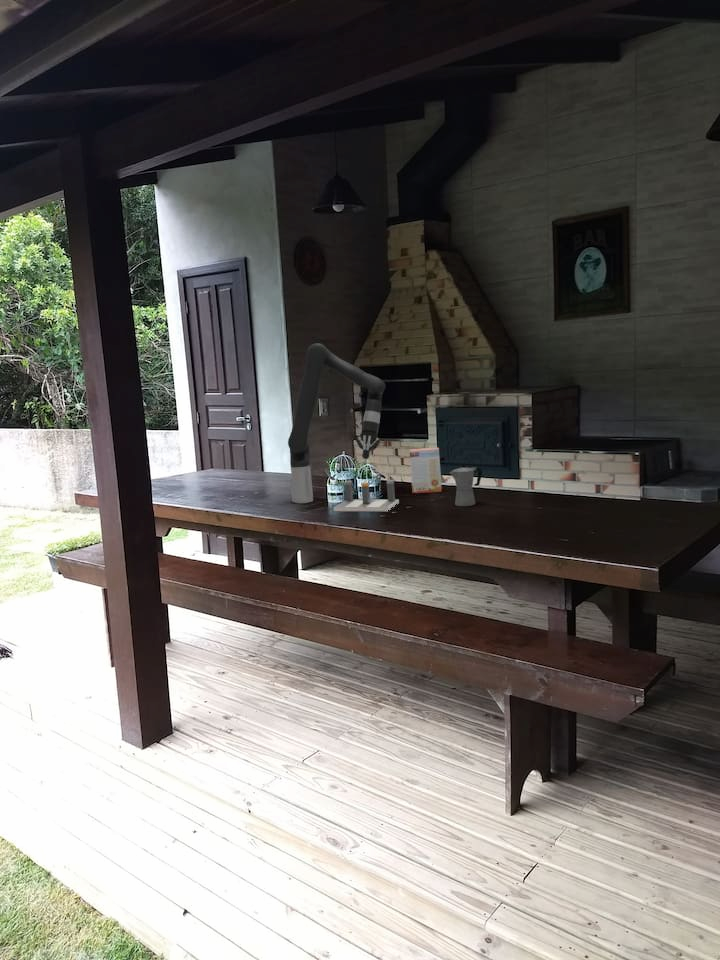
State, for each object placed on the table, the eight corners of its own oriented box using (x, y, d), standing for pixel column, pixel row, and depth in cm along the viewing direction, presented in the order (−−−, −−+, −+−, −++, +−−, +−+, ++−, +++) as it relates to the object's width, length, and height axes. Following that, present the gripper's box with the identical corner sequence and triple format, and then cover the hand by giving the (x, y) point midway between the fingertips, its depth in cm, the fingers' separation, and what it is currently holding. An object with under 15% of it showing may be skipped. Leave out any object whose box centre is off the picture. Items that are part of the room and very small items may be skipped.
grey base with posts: (333, 511, 329) (331, 487, 327) (347, 503, 345) (345, 480, 343) (387, 511, 321) (386, 486, 319) (399, 503, 336) (397, 479, 335)
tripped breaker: (362, 503, 331) (361, 483, 330) (364, 502, 334) (363, 482, 333) (368, 503, 330) (366, 483, 329) (370, 502, 333) (368, 482, 332)
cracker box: (441, 489, 360) (439, 446, 356) (441, 492, 354) (439, 448, 351) (412, 491, 361) (409, 448, 358) (412, 493, 356) (409, 450, 352)
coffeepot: (455, 507, 318) (453, 466, 315) (446, 504, 327) (444, 463, 324) (488, 503, 322) (486, 462, 319) (478, 499, 331) (477, 459, 328)
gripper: (355, 419, 344) (348, 456, 342) (381, 421, 339) (375, 458, 337) (361, 422, 351) (355, 459, 349) (387, 425, 346) (381, 461, 344)
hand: (365, 458), depth 343 cm, fingers closed
